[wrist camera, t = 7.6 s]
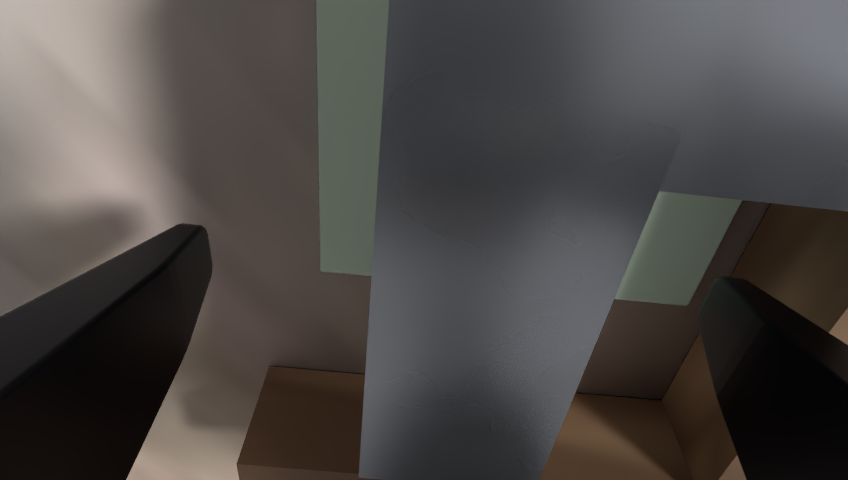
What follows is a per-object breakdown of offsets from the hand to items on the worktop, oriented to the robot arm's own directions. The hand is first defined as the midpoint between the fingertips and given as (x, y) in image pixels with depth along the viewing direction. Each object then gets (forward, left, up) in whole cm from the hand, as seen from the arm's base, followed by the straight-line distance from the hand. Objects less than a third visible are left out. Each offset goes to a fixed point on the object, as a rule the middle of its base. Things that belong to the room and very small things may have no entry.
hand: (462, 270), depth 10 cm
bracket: (+2, -2, -3) cm, 4 cm away
